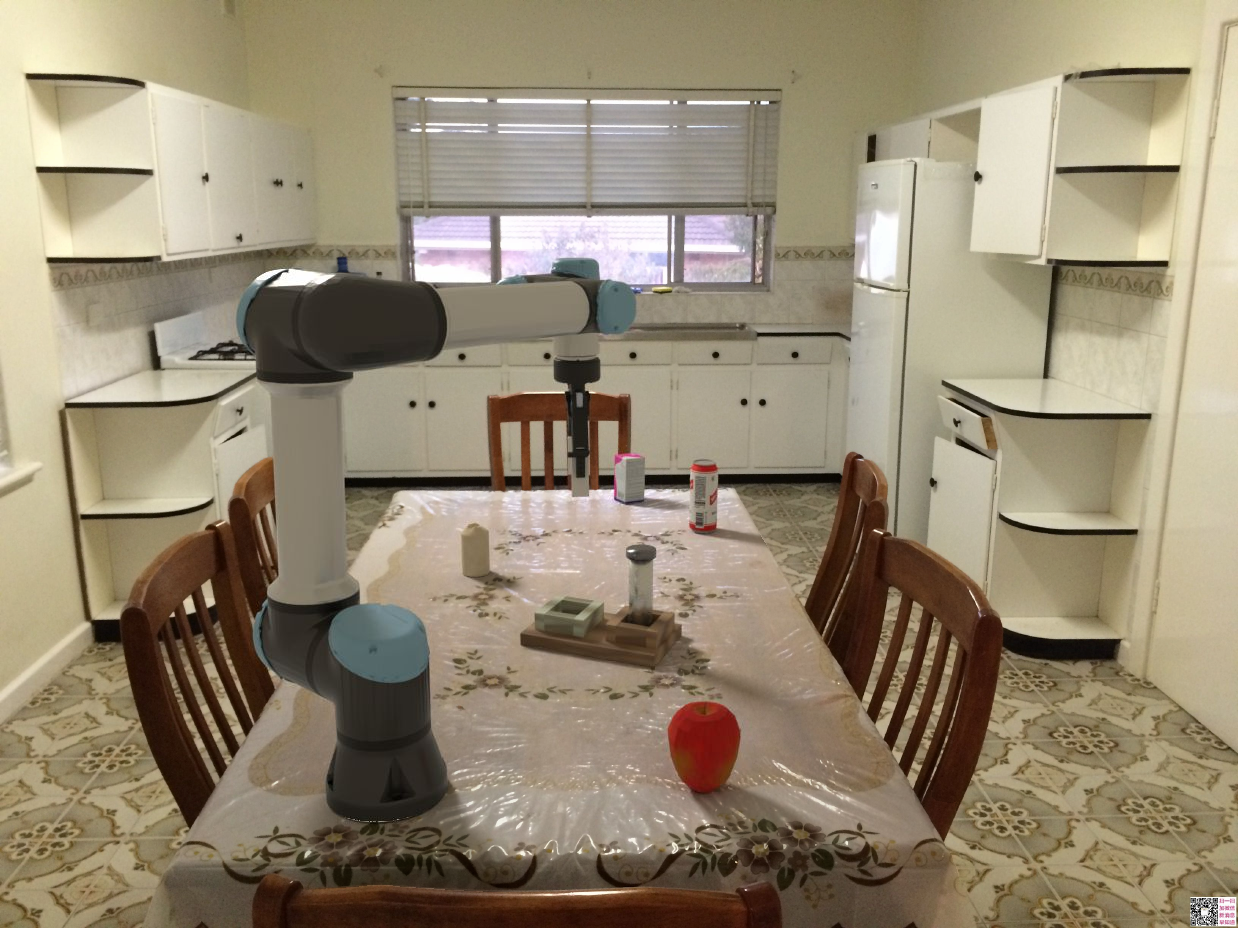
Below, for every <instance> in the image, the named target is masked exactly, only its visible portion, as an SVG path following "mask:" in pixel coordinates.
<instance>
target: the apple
mask: <svg viewBox="0 0 1238 928" xmlns="http://www.w3.org/2000/svg"><path fill="white" fill-rule="evenodd" d="M666 731H667V738H668V747H669V754H670V758H671V762H672V763H673V766H674V768H675V772H676V774H677V776H678V778H679V779H680V781H681V782H683V784H685V785H686V786H687V788H689V789H690V790H693V791H694V792H697V793H701V794H702V793H703V794H708V793H712V792H714V791H716V790H718V789H719V788H720V787H721V786H723V785H724V784H725V783H726V782H727V781H728V780H729V779H730V776H731V775H732V772H733V769H734V767H735V764H736V762H737V759H738V756H739V750H740V743H741V737H742V736H741V735H742V734H741V728H740V726H739V723H738V720H737V717H736V715H735V714H734V713H733V712H732V711H731V710H729V708H728V707H726V706H725V705H723V704H720V703H718V702H713V701H706V700H705V701H702V700H701V701H693V702H689V703H687V704H684V705H683V706H682V707H680V708H679V709H678V710H677V711H676V712H675V714H674V715H673V716H672V718H671V721H670V723H669V724H668V726H667V730H666Z"/></svg>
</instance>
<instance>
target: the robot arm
mask: <svg viewBox="0 0 1238 928" xmlns="http://www.w3.org/2000/svg"><path fill="white" fill-rule="evenodd" d="M240 297H241V298H240V299H239V302H238V304H237V308H236V315H235V317H236V318H235V325H236V331H237V334H238V336H239V339H240V341H241V342H242V345H244V346H245V347H246V349H247V350H248V351H249V353H251V354H252V355H253V356H255V357H254V358H255V371H256V382H258V384H259V385H260V386H261V387H263V389H265V390H266V391H267V392H268V393H269V395H270V417H271V435H272V438H271V439H272V441H271V442H272V458H273V480H274V498H275V499H274V503H275V521H276V522H275V523H276V525H275V526H276V541H277V543H276V544H277V563H278V564H277V565H278V566H277V567H278V576H277V578H276V579H274V580H273V582H272V583H271V584H269V586H268V587H267V591H266V593H267V595H266V596H267V599H265V601H264V602H263V603H262V605H261V606H262V609H261V610H260V611H259V612H257V613H256V616H255V618H254V621H253V627H252V640H253V646H254V650H255V652H256V654H257V656H258V658H259V659H260V661H261V662H262V664H264V666H265V667H267V668H268V669H269V670H271V671H272V672H273V673H274V674H275V675H277V676H278V677H280V678H282V679H284V680H285V681H286V682H289V683H291V684H292V683H293V684H296V685H298V686H300V687H301V688H304V689H306V690H307V691H310V692H311V693H314V694H315V695H317V696H320V697H322V698H323V699H326V700H327V701H329V702H331V703H332V704H333V705H334V714H335V715H334V716H335V726H336V727H335V728H336V729H335V730H336V742H335V745H334V748H333V753H332V755H331V760H330V762H329V767H328V770H327V773H326V778H325V797H326V799H325V800H326V803H327V805H328V807H329V808H330V810H332V811H333V812H334V813H335V814H336V813H337V815H338V814H339V815H338V816H340V815H341V816H340V817H342V816H343V817H342V818H344V817H346V818H345V819H347V818H350V819H355V820H358V821H359V820H360V821H369V822H370V821H372V822H373V821H376V822H378V821H393V820H397V819H403V818H406V819H408V818H407V817H410V818H412V817H415V816H418V815H421V814H423V813H424V812H426V811H428V810H429V809H432V808H433V807H434V806H436V805H437V804H438V803H439V802H440V801H441V800H442V799H443V798H444V796H445V795H446V792H447V790H448V785H449V783H448V781H449V780H448V768H447V764H446V762H445V760H444V758H443V756H442V753H441V750H440V747H439V745H438V742H437V740H436V737H435V735H434V733H433V729H432V716H431V715H432V710H431V708H432V705H431V677H430V676H431V675H430V671H431V670H430V659H431V658H430V655H431V652H430V646H429V641H428V636H427V635H428V634H427V629H426V626H425V624H424V622H423V621H422V620H421V617H419V616H418V615H417V614H415V613H414V612H413V611H412V610H409V609H407V608H405V607H402V606H399V605H396V604H392V603H388V604H386V605H385V604H381V603H380V602H368V603H361V587H360V586H361V584H360V581H359V580H358V579H356V578H355V577H354V576H353V575H351V574H350V573H349V571H348V554H347V553H348V552H347V546H348V545H347V525H346V524H347V523H346V521H347V520H346V492H345V491H346V490H345V464H344V463H345V460H344V459H345V458H344V457H345V455H344V434H343V433H344V429H343V427H344V426H343V402H342V401H343V400H342V396H343V395H342V394H343V392H344V390H345V389H346V388H347V387H348V386H349V385H350V384H351V383H352V382H353V381H354V373H357V372H359V373H360V372H366V371H373V370H379V369H383V368H384V369H386V368H390V367H396V366H402V365H408V364H414V363H419V362H420V363H421V362H427V361H428V362H429V361H432V360H434V359H437V358H438V357H439V356H440V355H441V353H442V352H443V351H448V350H455V349H457V350H459V349H466V348H474V347H482V346H488V345H489V346H490V345H497V344H498V345H500V344H506V343H513V342H522V341H531V340H539V339H540V340H541V339H547V338H552V353H553V355H554V356H556V357H554V359H553V362H552V363H553V364H552V365H553V379H554V381H555V382H557V383H559V384H566V385H567V390H566V391H565V390H564V401H565V411H566V412H567V424H566V428H567V434H568V435H567V475H568V476H569V475H570V476H571V497H572V498H582V497H583V498H584V497H585V498H587V497H590V467H589V466H590V457H589V456H590V454H591V450H590V442H589V440H590V439H589V419H590V403H591V394H590V391H589V390H586V385H587V384H594V383H596V382H598V381H600V379H601V374H602V373H601V370H602V369H601V359H600V357H598V356H599V354H600V353H601V344H600V342H603V341H604V340H605V337H604V336H608V335H621V334H624V333H626V332H627V331H628V330H629V329H630V328H631V327H632V325H633V323H635V319H636V316H637V302H638V301H637V297H636V294H635V292H634V290H633V288H632V287H631V286H630V285H629V284H628V283H626V282H623V281H619V280H613V279H611V278H607V279H601V274H600V264H599V262H598V261H597V260H596V259H594V258H592V257H589V258H588V257H560V258H555V259H554V260H553V261H552V263H551V270H550V272H549V273H541V274H540V273H538V274H525V275H524V274H522V275H520V274H515V275H513V276H507V277H503V278H502V279H500V280H499V281H498V282H496V284H494V285H493V284H492V285H491V284H490V285H478V286H462V287H461V286H460V287H459V286H458V287H443V288H436V286H434V285H432V284H431V283H430V282H426V281H423V280H416V281H413V280H412V281H402V280H401V281H400V280H392V279H384V278H380V277H379V278H378V277H373V276H372V277H371V276H365V275H362V274H361V275H360V274H356V273H354V274H353V273H351V272H332V271H324V270H314V269H307V268H297V267H292V268H285V269H284V268H283V269H275V270H274V269H273V270H270V271H267V272H265V273H263V274H261V275H259V276H258V277H256V278H255V279H254V280H253V281H252V282H251V283H250V284H249V286H248V287H246V288H245V290H244V292H243V293H242V294H241V296H240ZM411 816H412V817H411ZM350 819H349V820H350ZM403 820H404V819H403ZM358 821H357V822H358ZM393 822H394V821H393Z"/></svg>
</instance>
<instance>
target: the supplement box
mask: <svg viewBox="0 0 1238 928" xmlns="http://www.w3.org/2000/svg"><path fill="white" fill-rule="evenodd" d="M645 474H646V456H643V455H640V454H637V453H635V452H629V453H622V454H615V455H614V479H613V483H614V484H613V485H614V487H613V488H614V489H613V499H614V500H615V501H617V502H620V503H622V504H624V505H630V504H635V503H642V502H645V481H646V480H645V478H646V475H645Z"/></svg>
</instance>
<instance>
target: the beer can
mask: <svg viewBox="0 0 1238 928" xmlns="http://www.w3.org/2000/svg"><path fill="white" fill-rule="evenodd" d="M692 463H693V464H692V465H691V468H690V472H689V473H690V474H689V475H690V477H689V512H688V513H689V514H688V515H689V520H688V522H689V523H688V527H689V528H690V530H691V531H692V532H693V533H696V534H703V533H705V534H711V533H713V532H714V531H715V530H716V529H717V527H718V495H719V494H718V492H719V491H718V489H719V488H718V487H719V468H718V466H717V464H716V463H717V461H716V460H713V459H707V458H706V459H705V458H702V459H701V458H700V459H695V460H693V461H692ZM710 532H711V533H710Z"/></svg>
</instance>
